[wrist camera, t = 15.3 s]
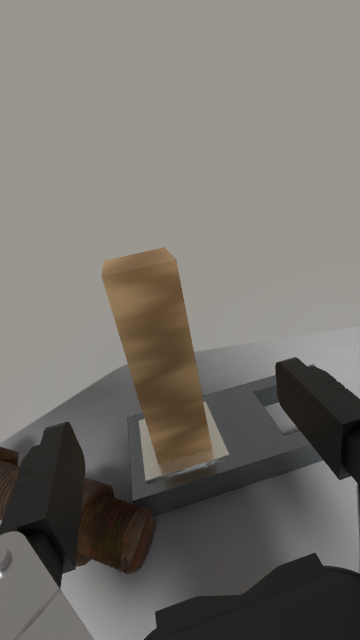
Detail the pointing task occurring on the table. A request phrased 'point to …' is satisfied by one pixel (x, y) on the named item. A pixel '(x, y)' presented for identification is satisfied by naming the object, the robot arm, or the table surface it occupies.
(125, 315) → the wooden peg
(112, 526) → the bolt
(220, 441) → the socket plate
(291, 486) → the table surface
